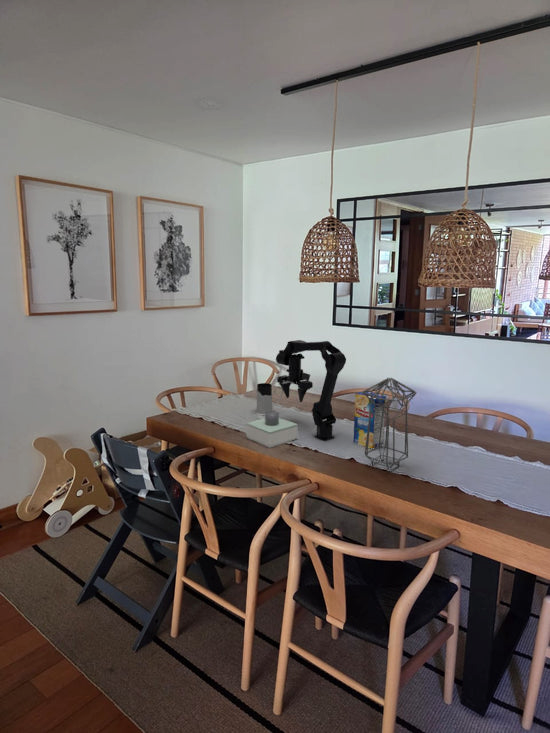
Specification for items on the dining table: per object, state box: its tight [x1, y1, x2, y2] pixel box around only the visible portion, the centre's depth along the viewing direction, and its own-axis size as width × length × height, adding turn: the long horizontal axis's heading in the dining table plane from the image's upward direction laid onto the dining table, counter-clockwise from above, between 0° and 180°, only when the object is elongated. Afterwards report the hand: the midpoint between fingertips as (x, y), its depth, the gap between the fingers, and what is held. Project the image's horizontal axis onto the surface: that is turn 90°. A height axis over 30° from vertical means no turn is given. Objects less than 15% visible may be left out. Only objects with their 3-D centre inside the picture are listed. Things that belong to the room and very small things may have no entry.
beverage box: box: [352, 391, 387, 449], centre depth 204 cm, size 7×11×22 cm, turn 38°
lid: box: [245, 417, 299, 434], centre depth 211 cm, size 16×16×1 cm
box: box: [245, 424, 299, 449], centre depth 212 cm, size 16×16×6 cm
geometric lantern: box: [361, 377, 417, 471], centre depth 180 cm, size 16×16×35 cm
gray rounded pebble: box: [264, 411, 280, 426], centre depth 211 cm, size 6×6×4 cm
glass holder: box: [255, 382, 284, 414], centre depth 249 cm, size 9×14×15 cm, turn 105°
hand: (294, 399), depth 227 cm, fingers open, 9 cm apart
